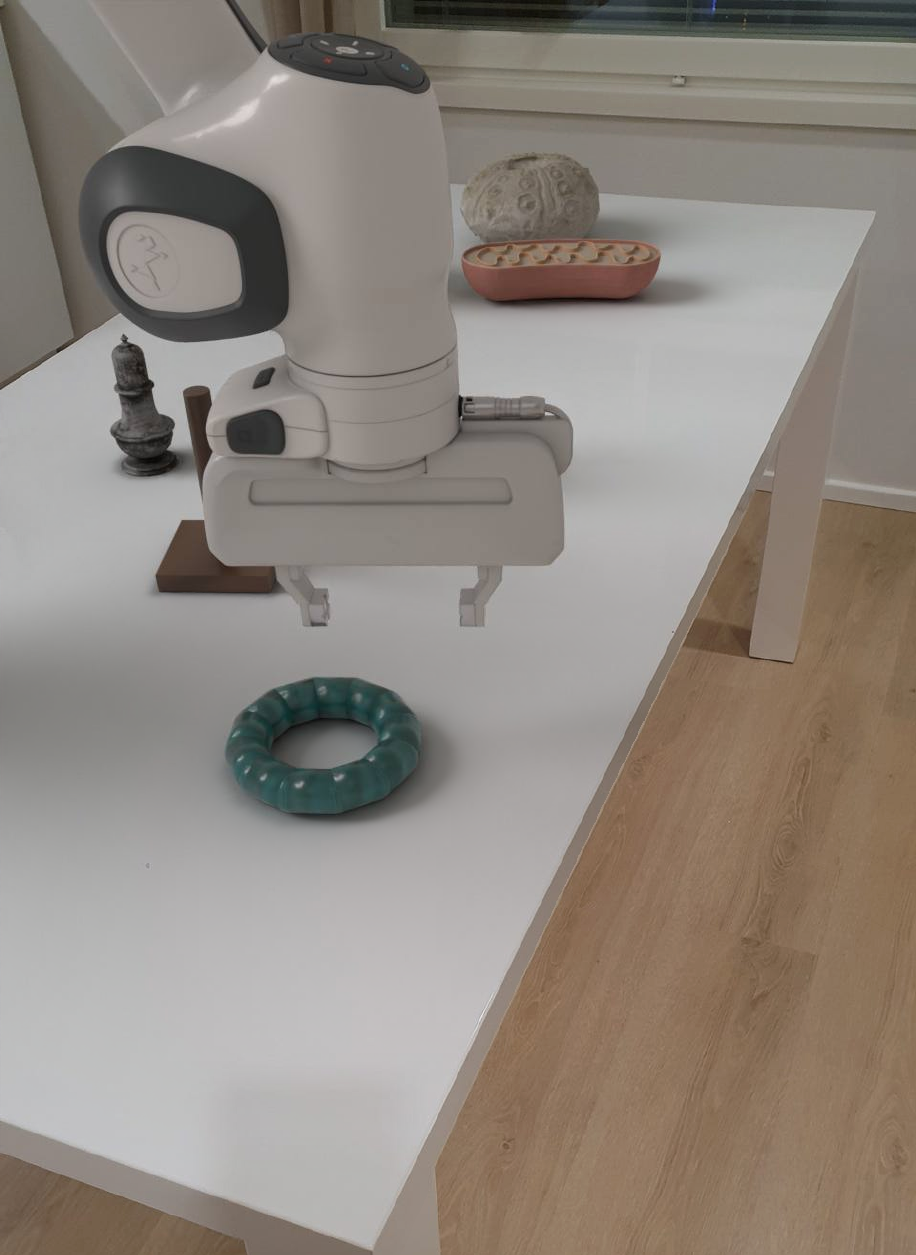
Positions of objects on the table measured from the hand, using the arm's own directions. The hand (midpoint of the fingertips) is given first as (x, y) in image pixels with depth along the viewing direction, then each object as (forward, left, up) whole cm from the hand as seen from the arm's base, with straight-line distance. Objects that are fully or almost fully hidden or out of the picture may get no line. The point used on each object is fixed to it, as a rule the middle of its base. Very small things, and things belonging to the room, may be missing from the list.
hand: (394, 621), depth 74 cm
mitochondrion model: (+10, +87, -11) cm, 88 cm away
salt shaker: (-28, +43, -11) cm, 52 cm away
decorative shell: (+6, +107, -11) cm, 108 cm away
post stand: (-17, +25, -11) cm, 32 cm away
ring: (-5, 0, -9) cm, 11 cm away
